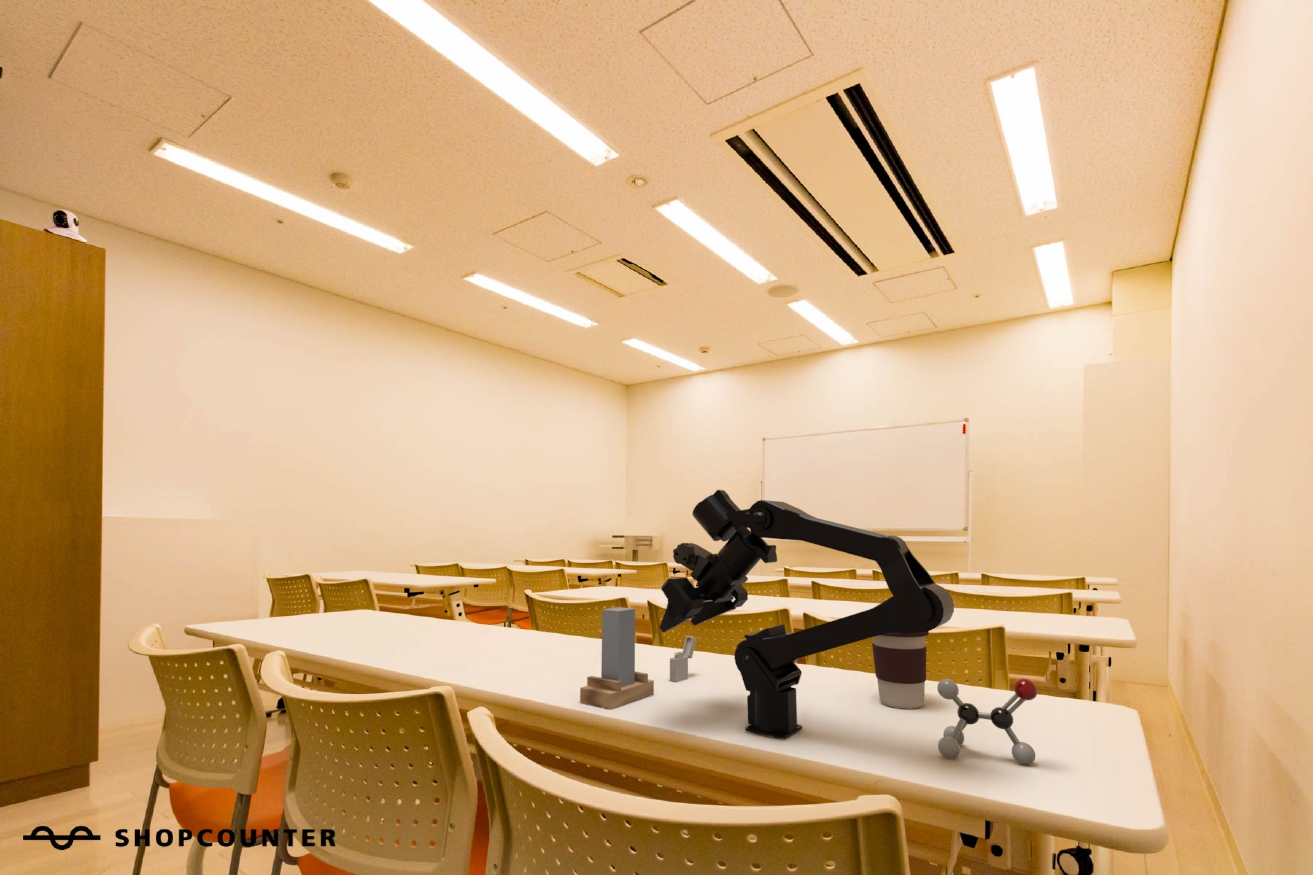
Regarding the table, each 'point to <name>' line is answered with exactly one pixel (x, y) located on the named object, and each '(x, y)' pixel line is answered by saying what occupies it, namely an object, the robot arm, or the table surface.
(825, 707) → the table surface
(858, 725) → the table surface
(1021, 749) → the molecular model
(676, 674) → the lighter
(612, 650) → the grey square pillar
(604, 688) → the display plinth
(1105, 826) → the table surface
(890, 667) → the coffee cup
